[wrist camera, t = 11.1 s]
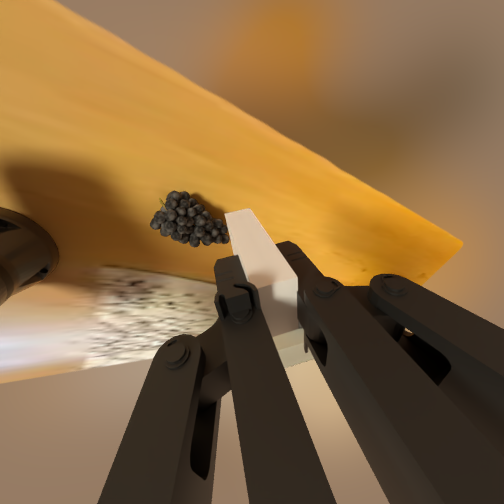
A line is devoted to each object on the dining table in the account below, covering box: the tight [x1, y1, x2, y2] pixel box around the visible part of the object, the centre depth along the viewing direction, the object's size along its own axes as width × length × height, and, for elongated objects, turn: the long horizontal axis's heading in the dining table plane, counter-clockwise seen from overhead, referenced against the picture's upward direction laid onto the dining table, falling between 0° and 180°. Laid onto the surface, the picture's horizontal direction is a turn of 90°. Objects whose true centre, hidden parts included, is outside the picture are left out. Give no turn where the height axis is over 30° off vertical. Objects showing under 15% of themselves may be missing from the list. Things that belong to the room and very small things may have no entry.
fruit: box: [150, 191, 229, 247], centre depth 38 cm, size 9×8×15 cm
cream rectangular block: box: [272, 328, 314, 368], centre depth 54 cm, size 15×8×16 cm, turn 97°
